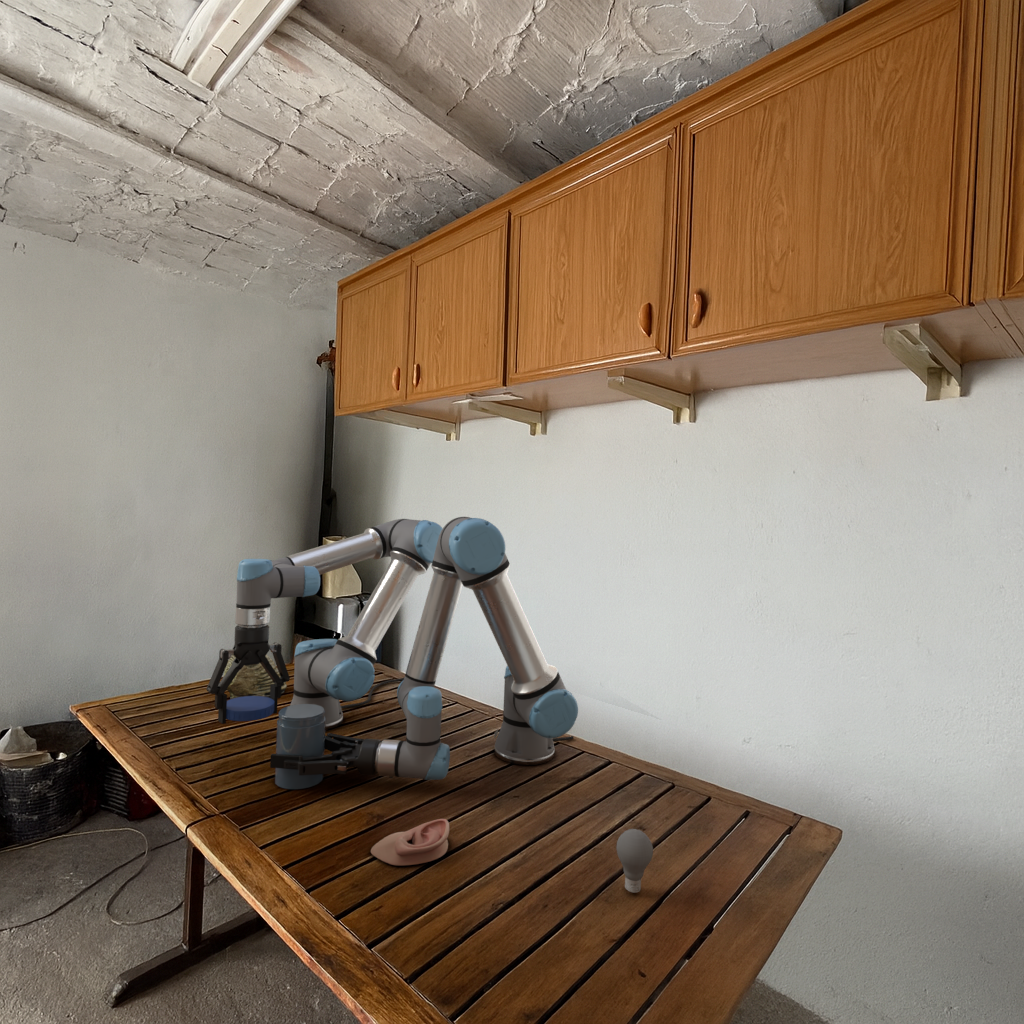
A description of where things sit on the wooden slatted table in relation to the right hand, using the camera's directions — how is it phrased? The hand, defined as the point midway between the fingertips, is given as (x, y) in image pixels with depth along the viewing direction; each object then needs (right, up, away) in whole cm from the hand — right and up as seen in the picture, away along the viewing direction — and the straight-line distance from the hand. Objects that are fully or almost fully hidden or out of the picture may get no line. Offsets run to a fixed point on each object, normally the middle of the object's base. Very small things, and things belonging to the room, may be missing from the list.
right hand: (282, 750), depth 142 cm
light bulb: (+72, -10, -36) cm, 81 cm away
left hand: (-11, +5, +8) cm, 14 cm away
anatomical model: (+33, -8, -27) cm, 43 cm away
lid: (-11, +8, +8) cm, 15 cm away
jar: (+4, -6, 0) cm, 7 cm away
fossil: (-29, -4, +56) cm, 63 cm away
